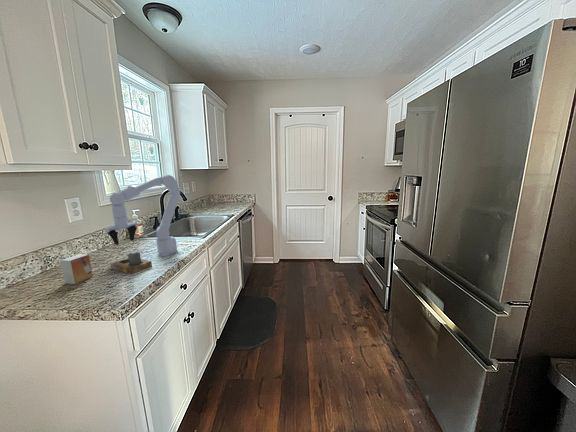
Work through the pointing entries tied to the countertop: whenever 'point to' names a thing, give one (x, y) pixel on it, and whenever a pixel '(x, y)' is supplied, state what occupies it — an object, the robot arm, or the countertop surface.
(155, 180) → the robot arm
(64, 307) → the countertop surface
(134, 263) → the plug
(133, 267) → the divided box
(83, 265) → the small box
